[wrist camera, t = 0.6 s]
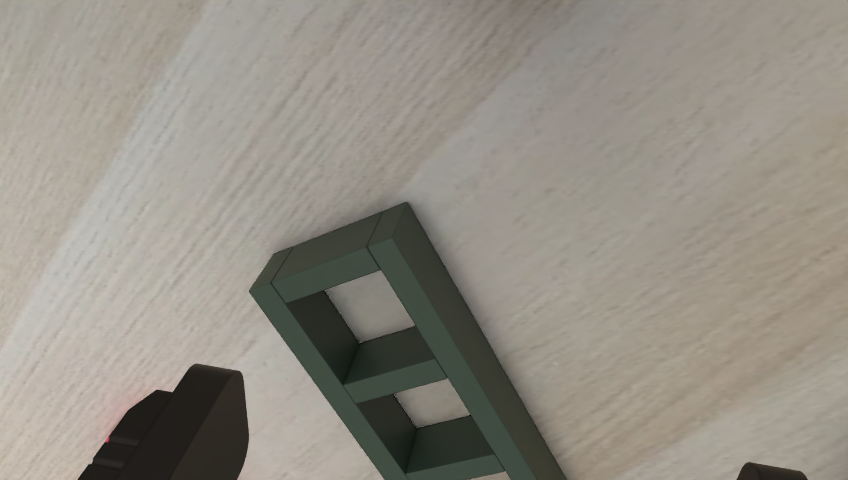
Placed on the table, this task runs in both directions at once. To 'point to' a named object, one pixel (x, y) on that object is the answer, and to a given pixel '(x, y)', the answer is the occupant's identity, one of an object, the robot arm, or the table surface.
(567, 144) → the table surface
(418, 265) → the rack
